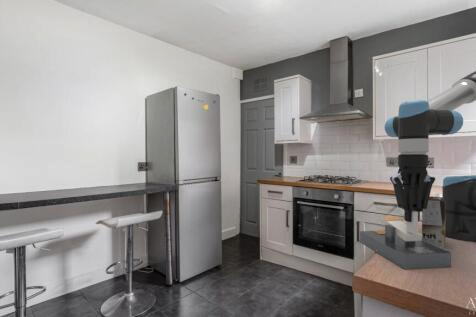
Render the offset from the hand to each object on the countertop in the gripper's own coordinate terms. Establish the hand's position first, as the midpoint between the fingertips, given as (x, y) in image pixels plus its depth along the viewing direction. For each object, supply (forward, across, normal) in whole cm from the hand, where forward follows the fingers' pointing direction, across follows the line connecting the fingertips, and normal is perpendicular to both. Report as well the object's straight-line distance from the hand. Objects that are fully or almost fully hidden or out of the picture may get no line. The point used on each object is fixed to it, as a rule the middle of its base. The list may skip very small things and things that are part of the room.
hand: (411, 232), depth 78 cm
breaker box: (+8, 0, -5) cm, 10 cm away
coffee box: (+8, -18, -12) cm, 23 cm away
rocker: (0, 0, -5) cm, 5 cm away
